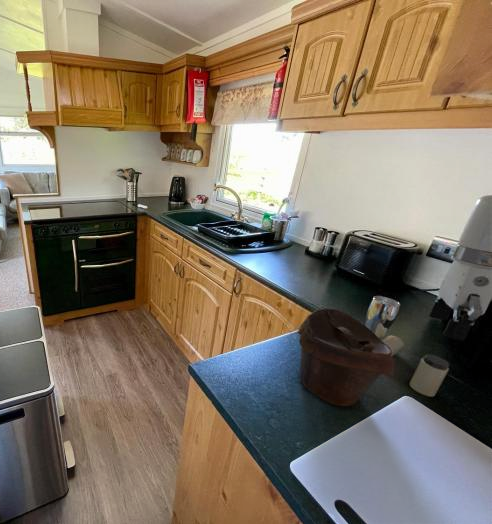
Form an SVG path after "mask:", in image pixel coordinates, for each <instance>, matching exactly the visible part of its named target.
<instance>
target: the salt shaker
mask: <svg viewBox="0 0 492 524" xmlns="http://www.w3.org/2000/svg"><path fill="white" fill-rule="evenodd" d="M381 340H382V341H383V342H384V343H385V344H386V346H387V347H388V348H389V349H390V350H391V352H392V357H394V356H396V355H397V354H399V353H401V352H402V351H403V350H404V348H405V345H404V341H403V340H402V339H401V338H399V337H398V336H396V335H386V336H384V338H383V339H381Z"/></svg>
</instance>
